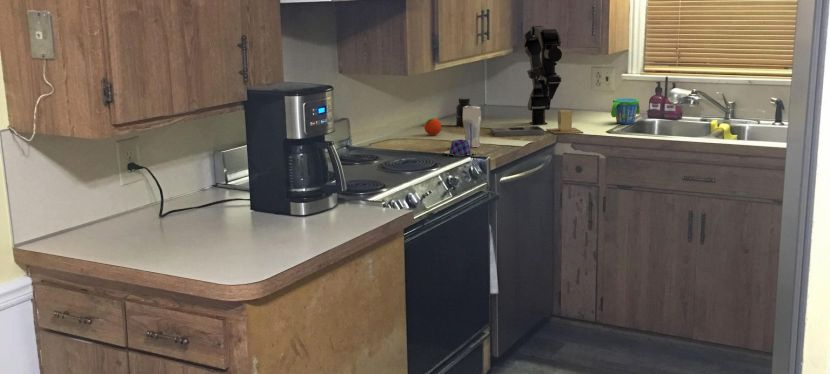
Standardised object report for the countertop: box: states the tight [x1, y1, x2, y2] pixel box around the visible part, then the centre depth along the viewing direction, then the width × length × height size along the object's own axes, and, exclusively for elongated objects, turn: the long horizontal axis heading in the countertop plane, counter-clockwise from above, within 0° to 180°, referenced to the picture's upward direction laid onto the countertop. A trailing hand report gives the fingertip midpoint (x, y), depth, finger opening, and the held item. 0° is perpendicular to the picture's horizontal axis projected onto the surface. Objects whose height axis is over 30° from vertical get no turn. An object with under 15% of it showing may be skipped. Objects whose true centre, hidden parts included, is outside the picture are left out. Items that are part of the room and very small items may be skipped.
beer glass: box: [462, 105, 482, 148], centre depth 342 cm, size 7×7×15 cm
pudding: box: [443, 139, 478, 155], centre depth 328 cm, size 12×12×5 cm
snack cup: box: [610, 97, 641, 125], centre depth 389 cm, size 16×10×10 cm
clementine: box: [423, 117, 442, 136], centre depth 370 cm, size 8×7×7 cm
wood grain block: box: [557, 109, 573, 131], centre depth 372 cm, size 4×4×8 cm
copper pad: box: [546, 127, 584, 136], centre depth 372 cm, size 12×12×1 cm
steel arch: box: [489, 125, 545, 138], centre depth 370 cm, size 10×20×2 cm, turn 97°
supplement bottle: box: [455, 97, 472, 127], centre depth 392 cm, size 7×7×12 cm
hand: (547, 98), depth 377 cm, fingers open, 9 cm apart
